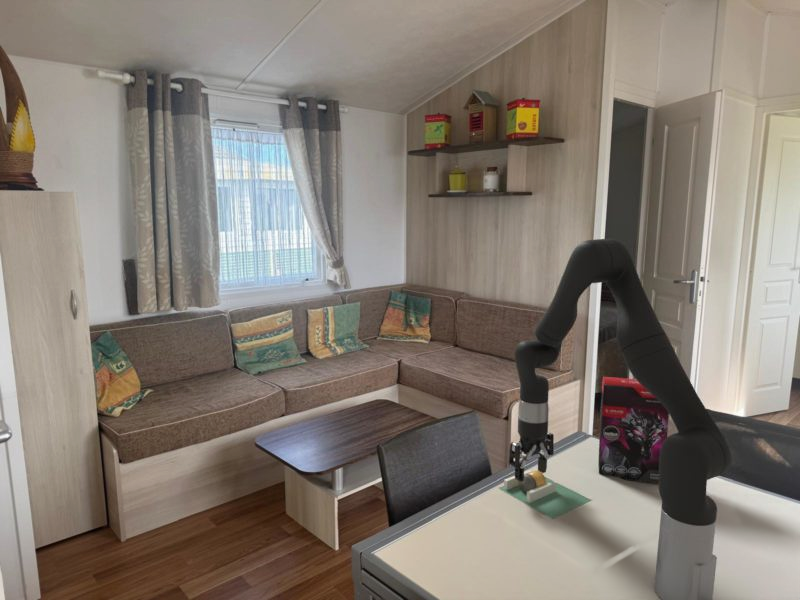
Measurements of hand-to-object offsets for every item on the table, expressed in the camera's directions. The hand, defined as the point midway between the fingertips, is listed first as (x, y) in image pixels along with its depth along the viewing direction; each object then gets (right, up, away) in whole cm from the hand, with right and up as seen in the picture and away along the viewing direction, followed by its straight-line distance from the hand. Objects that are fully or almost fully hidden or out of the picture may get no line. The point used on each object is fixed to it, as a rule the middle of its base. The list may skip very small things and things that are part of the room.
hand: (530, 476), depth 146 cm
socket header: (0, -5, +1) cm, 5 cm away
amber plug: (0, -4, +1) cm, 4 cm away
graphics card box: (+30, -4, +11) cm, 32 cm away
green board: (+3, -5, -1) cm, 6 cm away
